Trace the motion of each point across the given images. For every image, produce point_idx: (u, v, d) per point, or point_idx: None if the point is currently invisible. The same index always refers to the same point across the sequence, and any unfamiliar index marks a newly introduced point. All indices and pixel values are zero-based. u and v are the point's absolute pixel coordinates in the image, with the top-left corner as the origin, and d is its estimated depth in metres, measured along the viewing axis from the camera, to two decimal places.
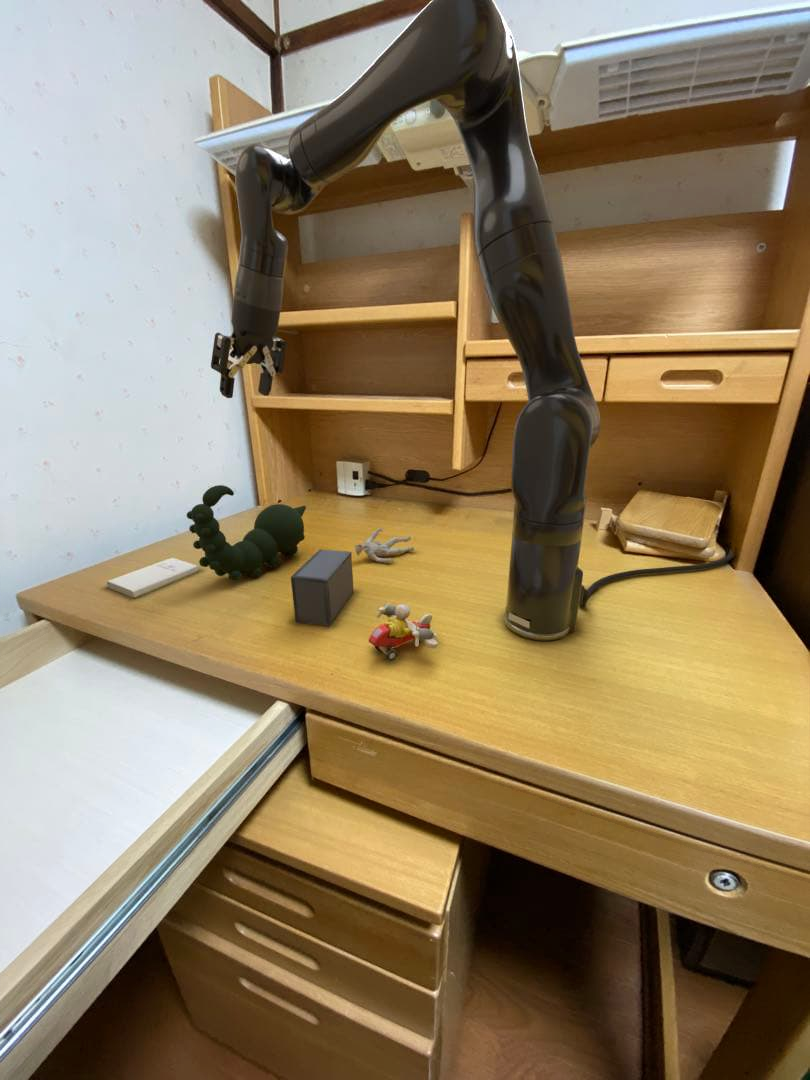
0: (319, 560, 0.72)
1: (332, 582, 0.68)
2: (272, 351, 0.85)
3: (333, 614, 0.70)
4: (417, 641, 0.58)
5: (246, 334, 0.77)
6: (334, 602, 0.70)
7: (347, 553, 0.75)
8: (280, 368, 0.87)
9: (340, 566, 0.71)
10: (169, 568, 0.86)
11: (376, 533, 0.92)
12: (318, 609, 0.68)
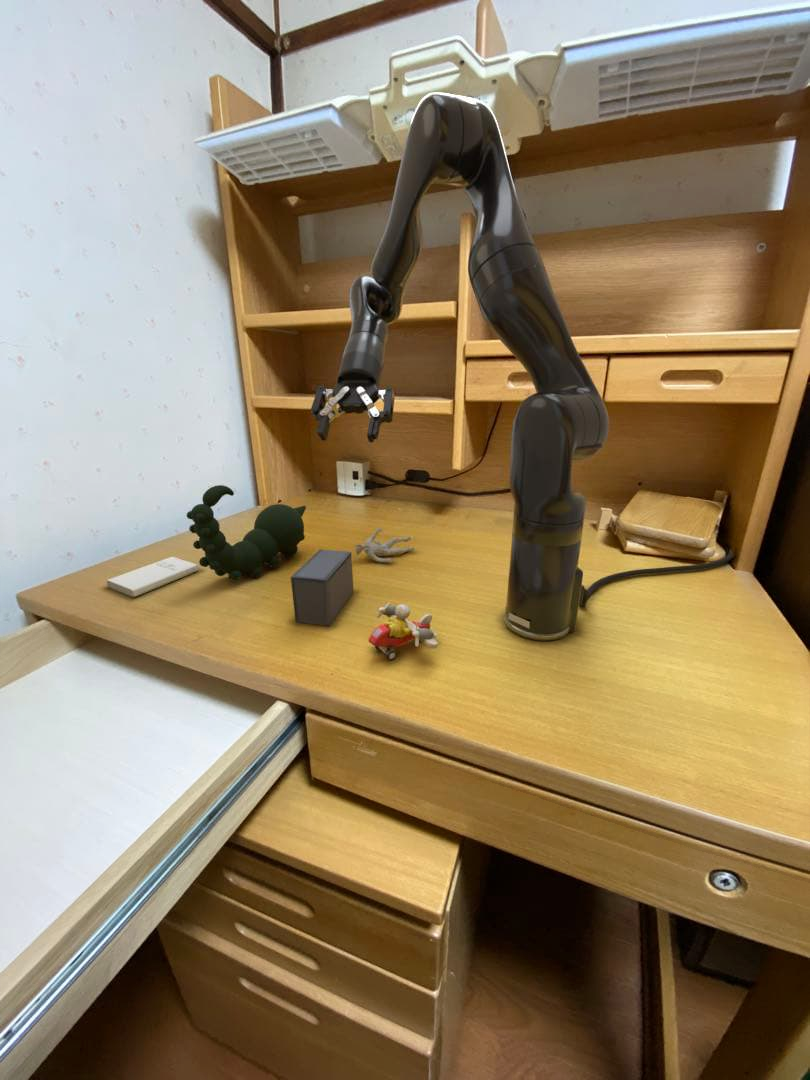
0: (319, 560, 0.72)
1: (332, 582, 0.68)
2: None
3: (333, 614, 0.70)
4: (417, 641, 0.58)
5: (342, 382, 0.82)
6: (334, 602, 0.70)
7: (347, 553, 0.75)
8: (386, 409, 0.78)
9: (340, 566, 0.71)
10: (169, 567, 0.86)
11: (376, 533, 0.92)
12: (318, 609, 0.68)
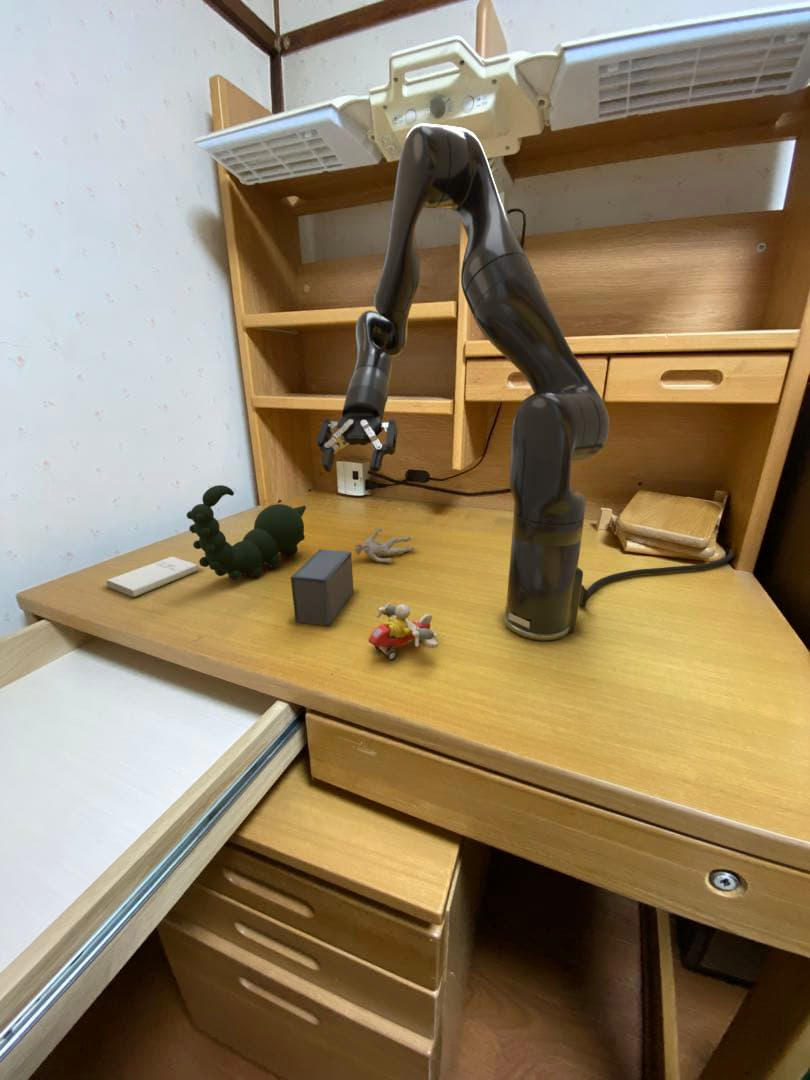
0: (319, 560, 0.72)
1: (332, 582, 0.68)
2: None
3: (333, 614, 0.70)
4: (417, 641, 0.58)
5: (346, 415, 0.84)
6: (334, 602, 0.70)
7: (347, 553, 0.75)
8: (389, 441, 0.80)
9: (340, 566, 0.71)
10: (169, 567, 0.86)
11: (376, 533, 0.92)
12: (318, 609, 0.68)
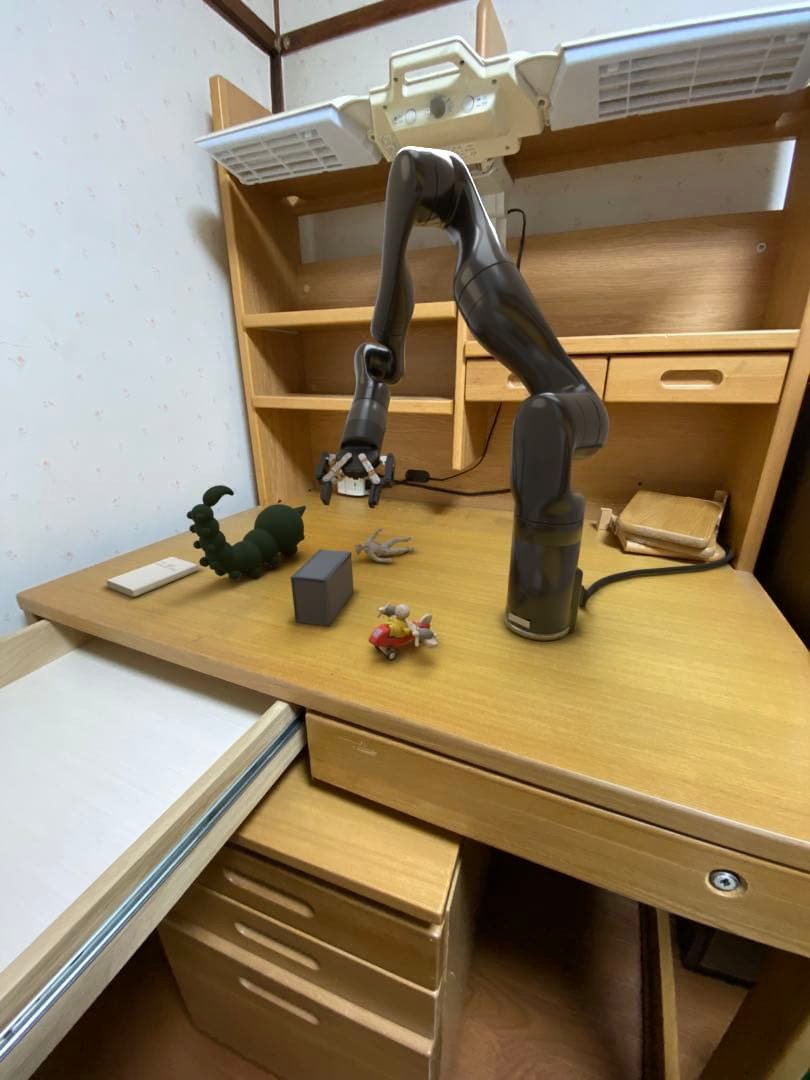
0: (319, 560, 0.72)
1: (332, 582, 0.68)
2: None
3: (333, 614, 0.70)
4: (417, 641, 0.58)
5: (345, 448, 0.85)
6: (334, 602, 0.70)
7: (347, 553, 0.75)
8: (387, 476, 0.81)
9: (340, 566, 0.71)
10: (169, 567, 0.86)
11: (376, 533, 0.92)
12: (318, 609, 0.68)
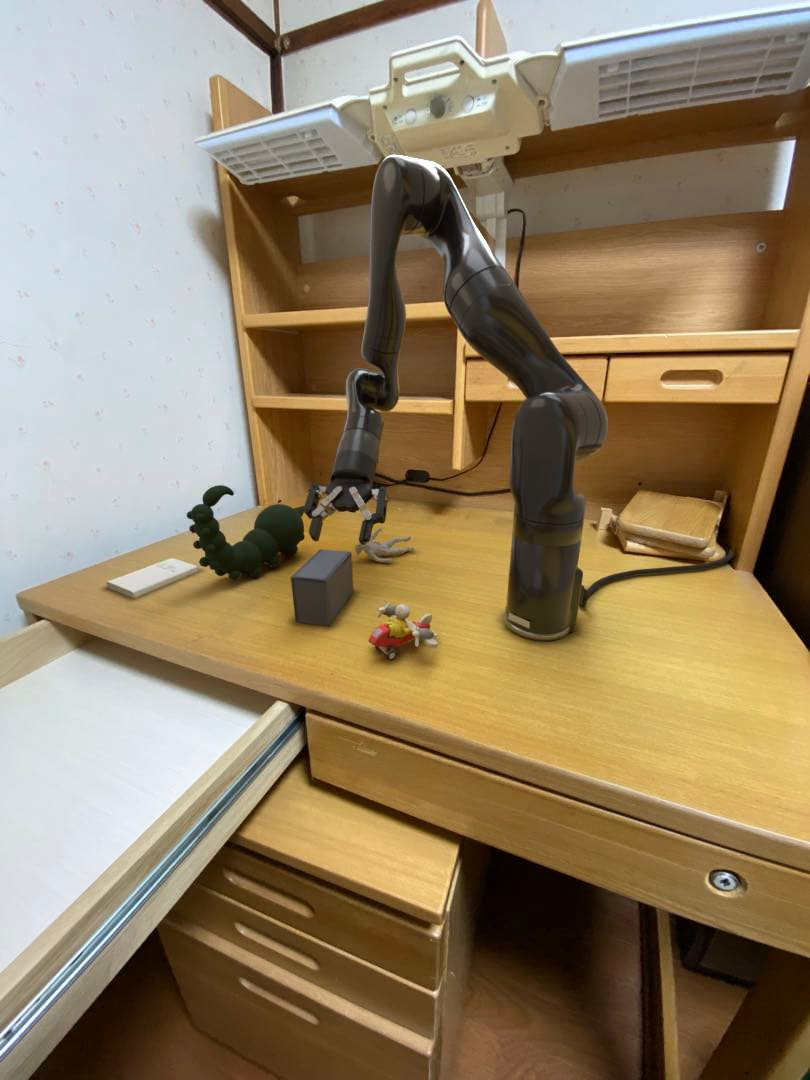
0: (319, 560, 0.72)
1: (332, 582, 0.68)
2: None
3: (333, 614, 0.70)
4: (417, 641, 0.58)
5: (335, 480, 0.81)
6: (334, 602, 0.70)
7: (347, 553, 0.75)
8: (378, 511, 0.77)
9: (340, 566, 0.71)
10: (169, 569, 0.86)
11: (376, 533, 0.92)
12: (318, 609, 0.68)
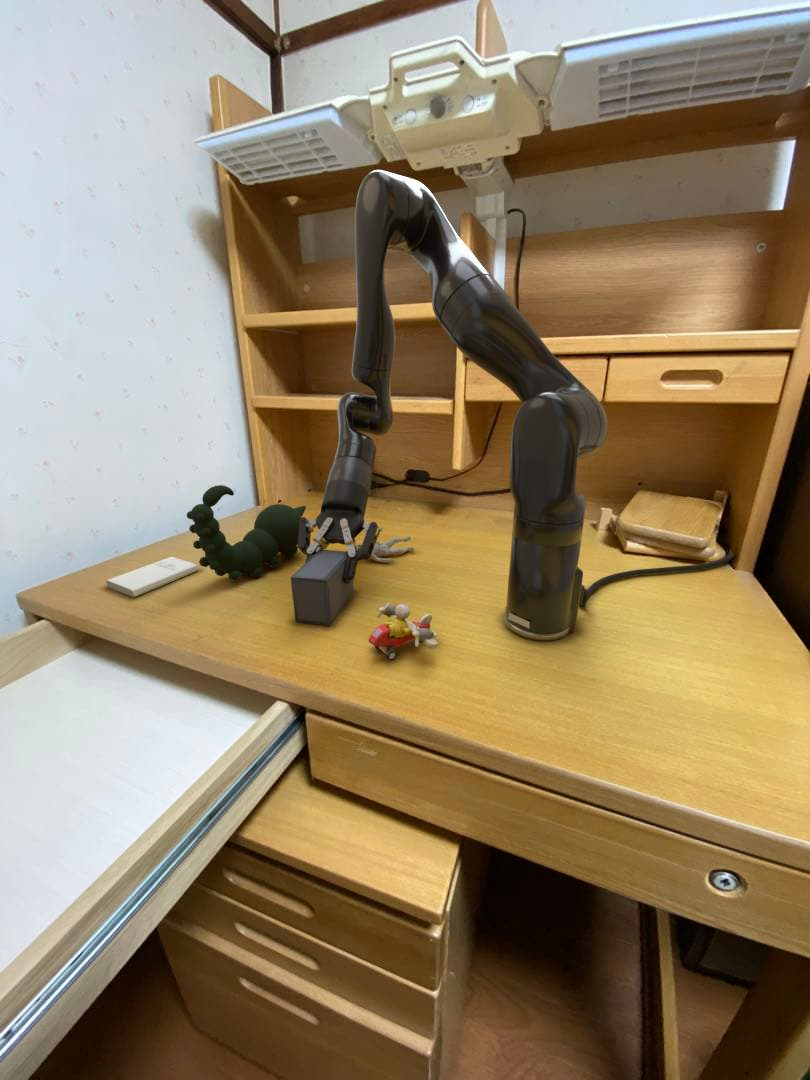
0: (319, 560, 0.72)
1: (332, 582, 0.68)
2: None
3: (333, 614, 0.70)
4: (417, 641, 0.58)
5: (326, 511, 0.78)
6: (334, 602, 0.70)
7: (347, 553, 0.75)
8: (363, 548, 0.74)
9: (340, 566, 0.71)
10: (168, 567, 0.86)
11: None
12: (318, 609, 0.68)
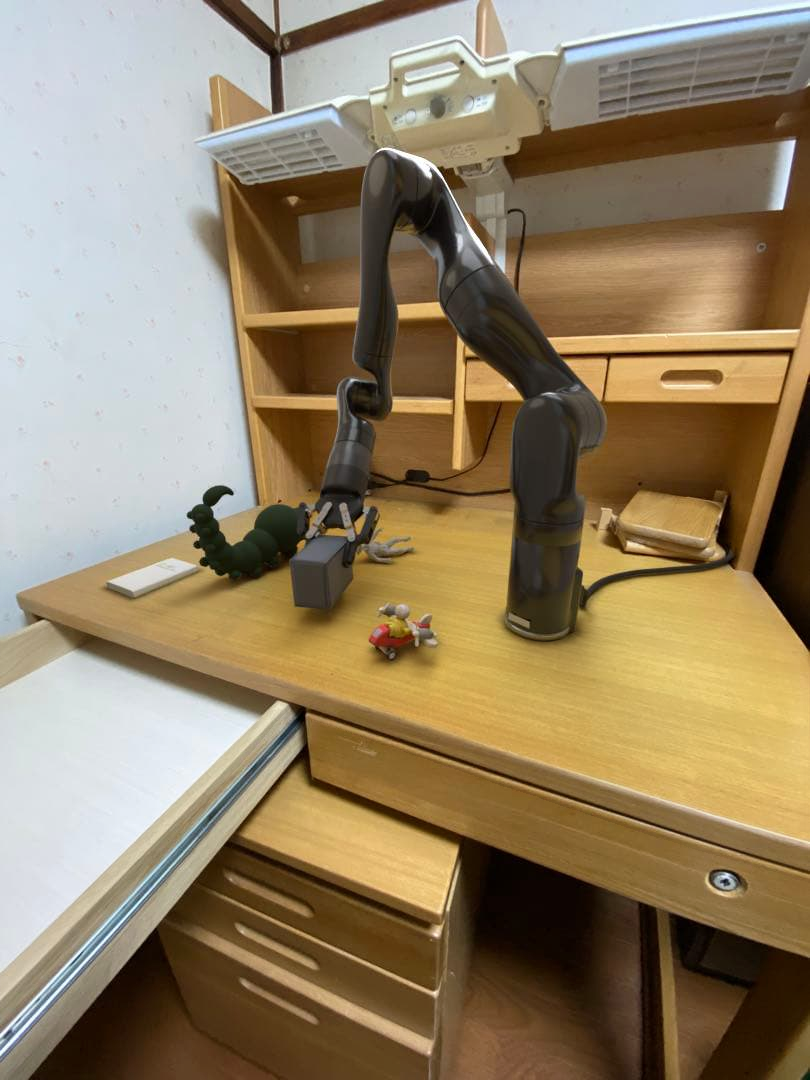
0: (318, 545, 0.72)
1: (331, 565, 0.67)
2: None
3: (333, 598, 0.69)
4: (417, 641, 0.58)
5: (325, 496, 0.77)
6: (333, 586, 0.69)
7: (347, 538, 0.74)
8: (363, 532, 0.73)
9: (339, 550, 0.70)
10: (169, 568, 0.86)
11: (376, 533, 0.92)
12: (317, 593, 0.67)
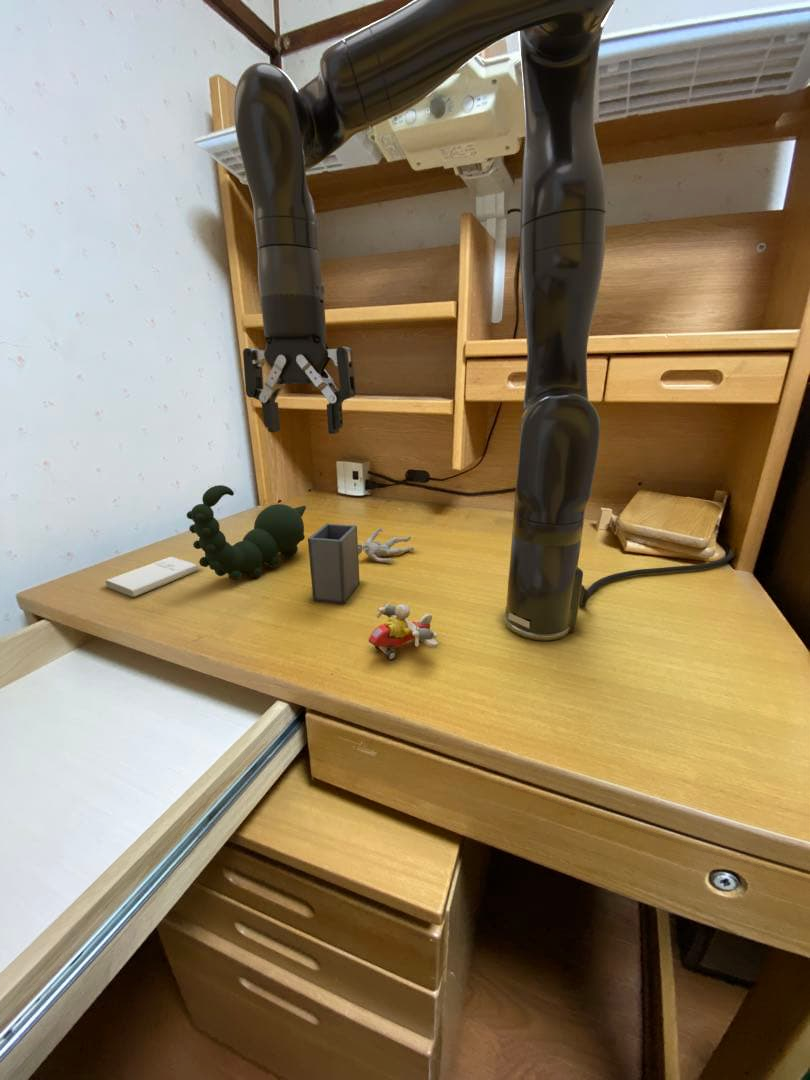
0: (320, 566, 0.73)
1: (347, 588, 0.75)
2: None
3: (357, 578, 0.80)
4: (417, 641, 0.58)
5: (273, 341, 0.57)
6: (353, 579, 0.78)
7: (339, 546, 0.71)
8: (344, 389, 0.57)
9: (343, 571, 0.73)
10: (168, 567, 0.86)
11: (376, 533, 0.92)
12: None
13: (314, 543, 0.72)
